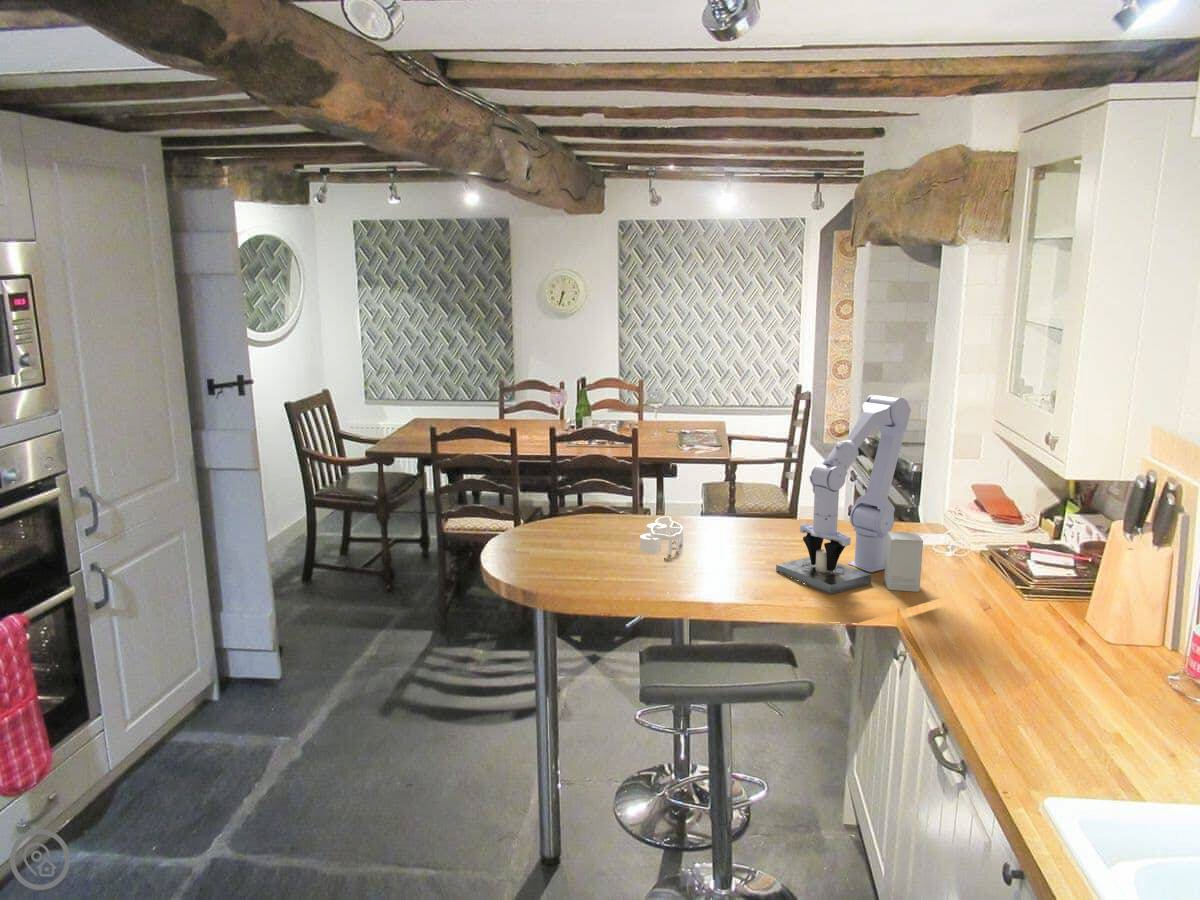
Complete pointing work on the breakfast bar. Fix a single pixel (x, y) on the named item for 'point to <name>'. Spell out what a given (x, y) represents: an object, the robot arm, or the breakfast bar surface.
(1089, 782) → the breakfast bar surface
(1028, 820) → the breakfast bar surface
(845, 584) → the socket plate
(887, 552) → the supplement box
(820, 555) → the peg
